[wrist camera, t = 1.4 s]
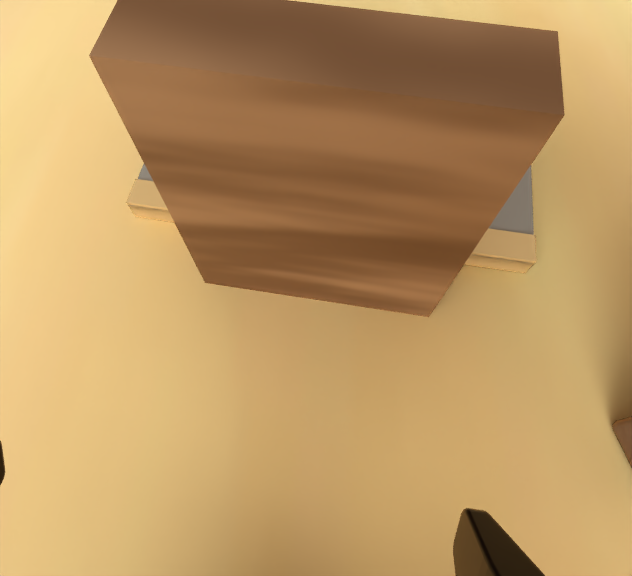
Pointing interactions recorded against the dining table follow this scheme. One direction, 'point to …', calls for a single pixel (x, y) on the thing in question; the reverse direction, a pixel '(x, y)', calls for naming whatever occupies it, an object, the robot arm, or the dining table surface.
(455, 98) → the walnut plank
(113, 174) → the dining table surface
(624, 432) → the wooden block
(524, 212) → the slate floor board
